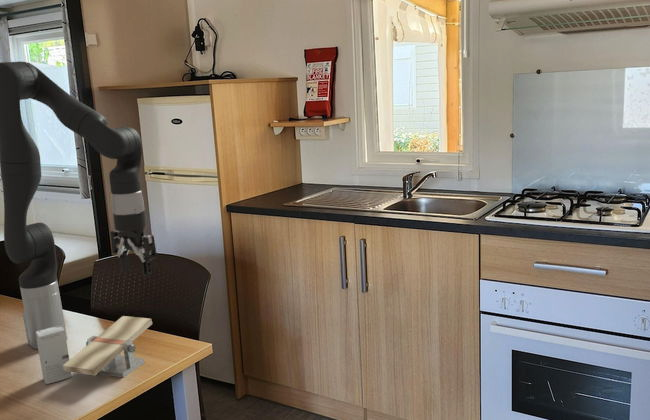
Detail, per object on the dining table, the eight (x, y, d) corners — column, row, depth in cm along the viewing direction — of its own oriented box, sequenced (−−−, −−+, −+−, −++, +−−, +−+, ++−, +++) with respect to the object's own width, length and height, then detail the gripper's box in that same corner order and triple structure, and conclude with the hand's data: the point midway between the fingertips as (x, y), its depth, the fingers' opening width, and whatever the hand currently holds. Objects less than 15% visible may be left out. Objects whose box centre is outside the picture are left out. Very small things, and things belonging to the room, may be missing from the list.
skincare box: (46, 385, 144) (37, 337, 142) (42, 378, 148) (33, 331, 146) (73, 377, 148) (65, 329, 145) (69, 370, 151) (61, 324, 149)
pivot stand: (80, 371, 150) (75, 344, 149) (103, 357, 158) (99, 330, 156) (125, 377, 145) (121, 349, 144) (146, 362, 153) (142, 335, 151)
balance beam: (64, 371, 143) (62, 365, 142) (124, 320, 161) (122, 315, 161) (94, 375, 139) (93, 369, 139) (152, 323, 158) (151, 318, 158)
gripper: (97, 210, 152) (106, 273, 155) (134, 216, 144) (142, 281, 147) (123, 204, 158) (130, 264, 161) (160, 209, 150) (167, 272, 153)
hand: (136, 272), depth 154 cm, fingers open, 8 cm apart
